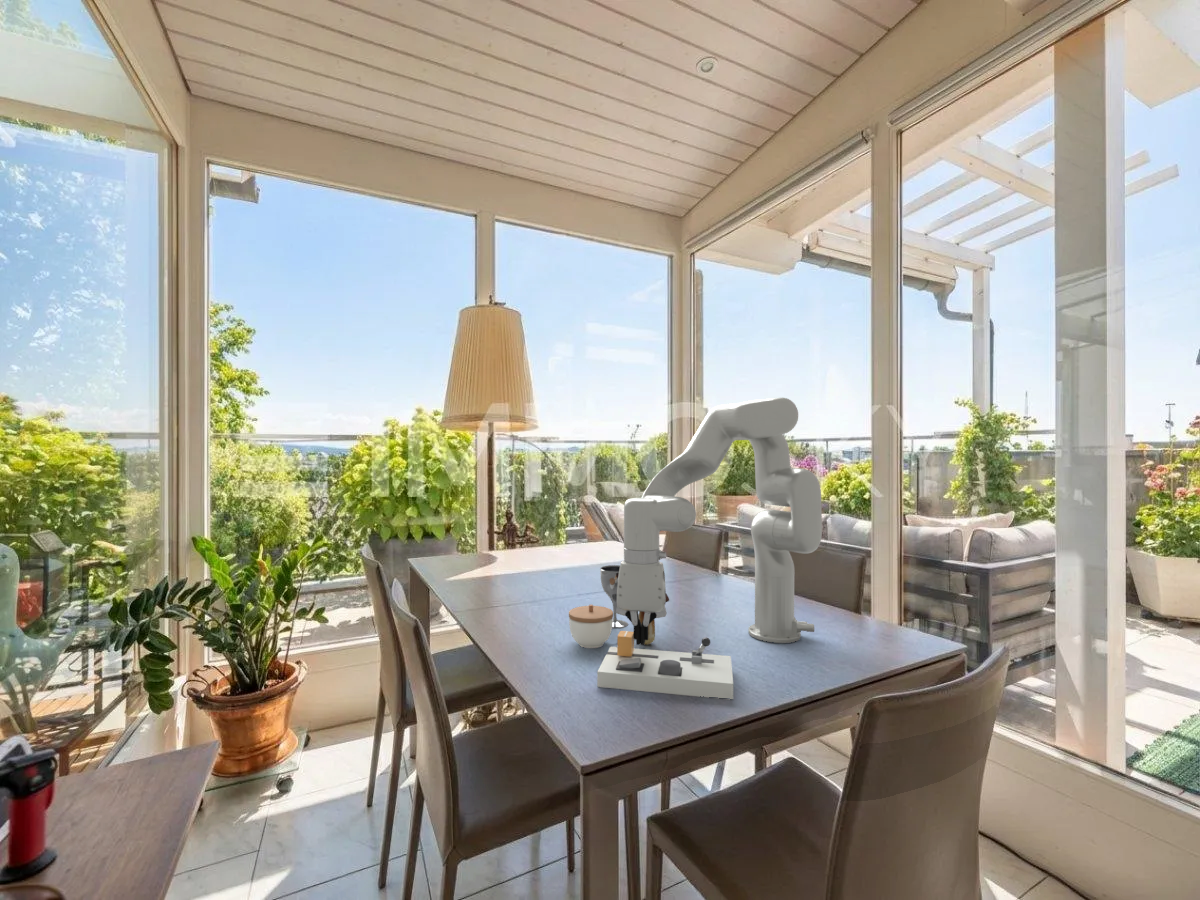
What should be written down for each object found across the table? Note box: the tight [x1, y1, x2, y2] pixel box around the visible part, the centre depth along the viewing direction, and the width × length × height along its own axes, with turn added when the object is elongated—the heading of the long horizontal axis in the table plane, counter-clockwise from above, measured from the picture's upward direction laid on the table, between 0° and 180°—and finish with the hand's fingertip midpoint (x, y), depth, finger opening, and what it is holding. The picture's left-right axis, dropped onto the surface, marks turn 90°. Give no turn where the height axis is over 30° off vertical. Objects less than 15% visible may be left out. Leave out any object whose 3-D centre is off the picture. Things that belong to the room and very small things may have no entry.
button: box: [660, 660, 680, 676], centre depth 107 cm, size 4×4×4 cm
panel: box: [596, 646, 734, 700], centre depth 111 cm, size 26×14×5 cm, turn 78°
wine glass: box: [599, 564, 629, 629], centre depth 145 cm, size 8×8×15 cm
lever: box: [695, 636, 711, 656], centre depth 112 cm, size 2×2×5 cm
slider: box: [616, 630, 635, 656], centre depth 115 cm, size 3×4×4 cm
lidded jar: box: [568, 604, 614, 649], centre depth 130 cm, size 11×11×9 cm
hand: (640, 642), depth 115 cm, fingers closed
